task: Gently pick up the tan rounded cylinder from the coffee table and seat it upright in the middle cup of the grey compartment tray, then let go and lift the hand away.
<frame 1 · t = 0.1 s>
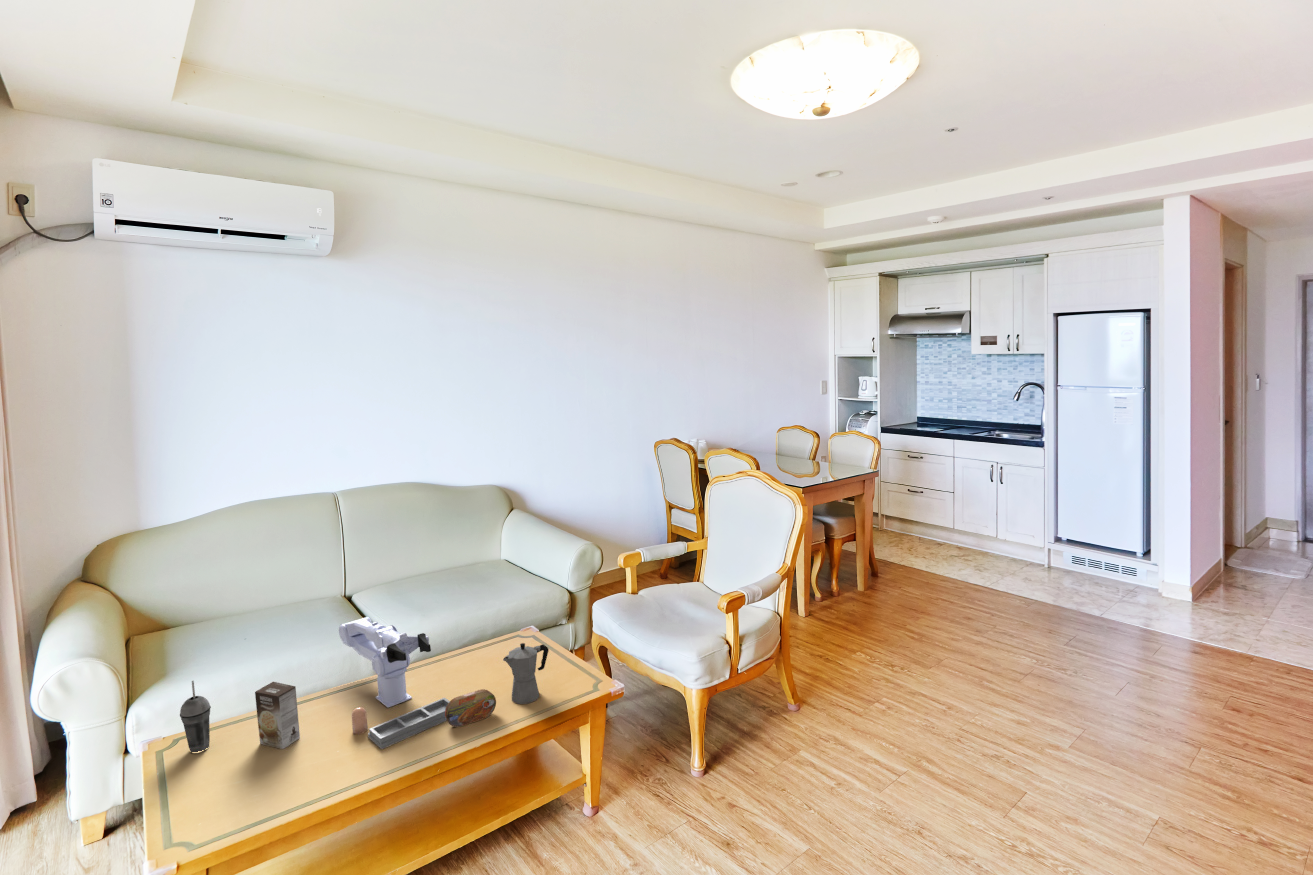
hand: (417, 652, 198), 22 cm above the table, tool horizontal, fingers open, 7 cm apart
tin: (471, 720, 200), on the table
coffeepot: (528, 696, 214), on the table
coffee box: (280, 741, 192), on the table
tan rounded cylinder: (360, 730, 197), on the table
beverage cup: (199, 749, 189), on the table
grey compartment tray: (414, 725, 198), on the table
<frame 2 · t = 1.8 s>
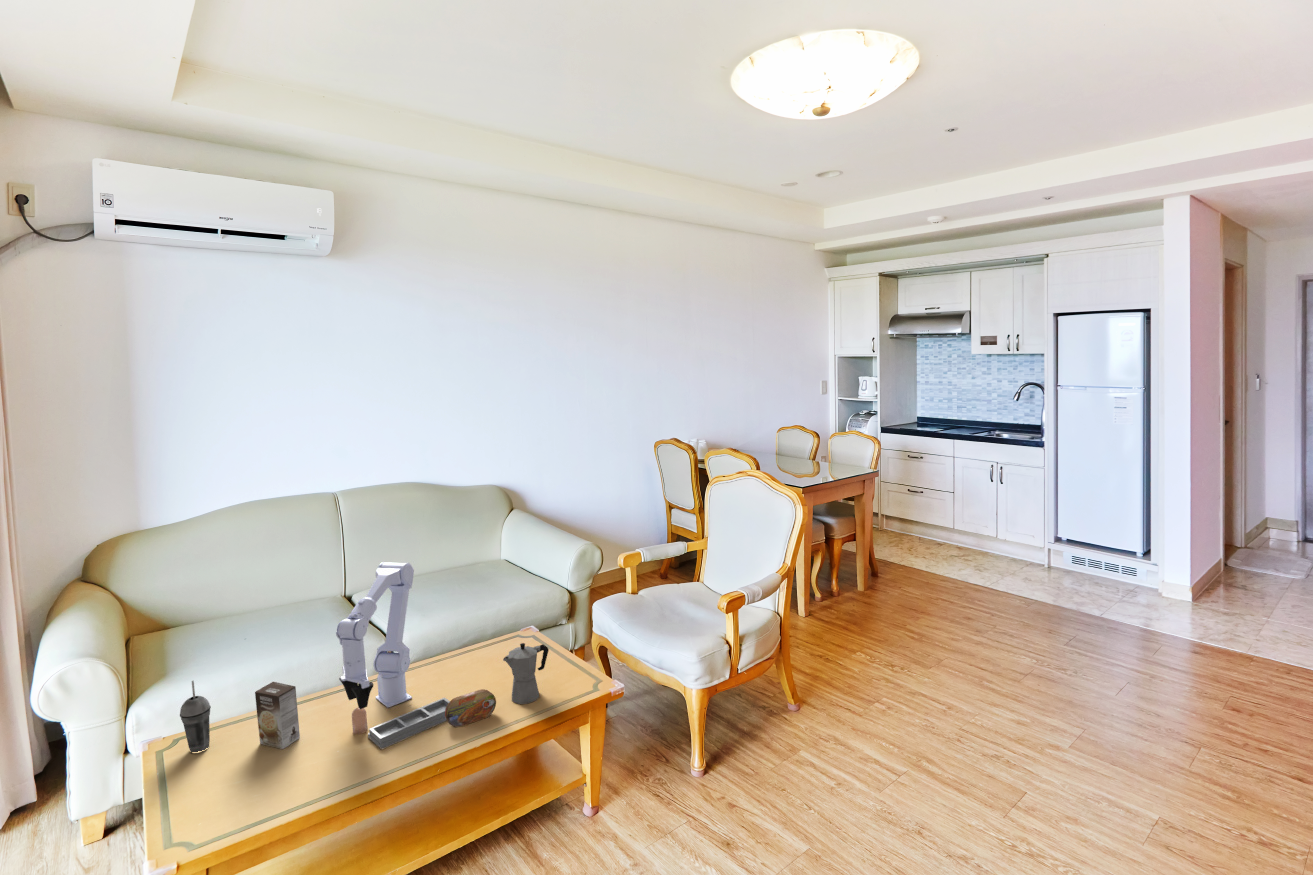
hand: (357, 703, 195), 8 cm above the table, tool pointing down, fingers open, 7 cm apart
nothing on the table moved.
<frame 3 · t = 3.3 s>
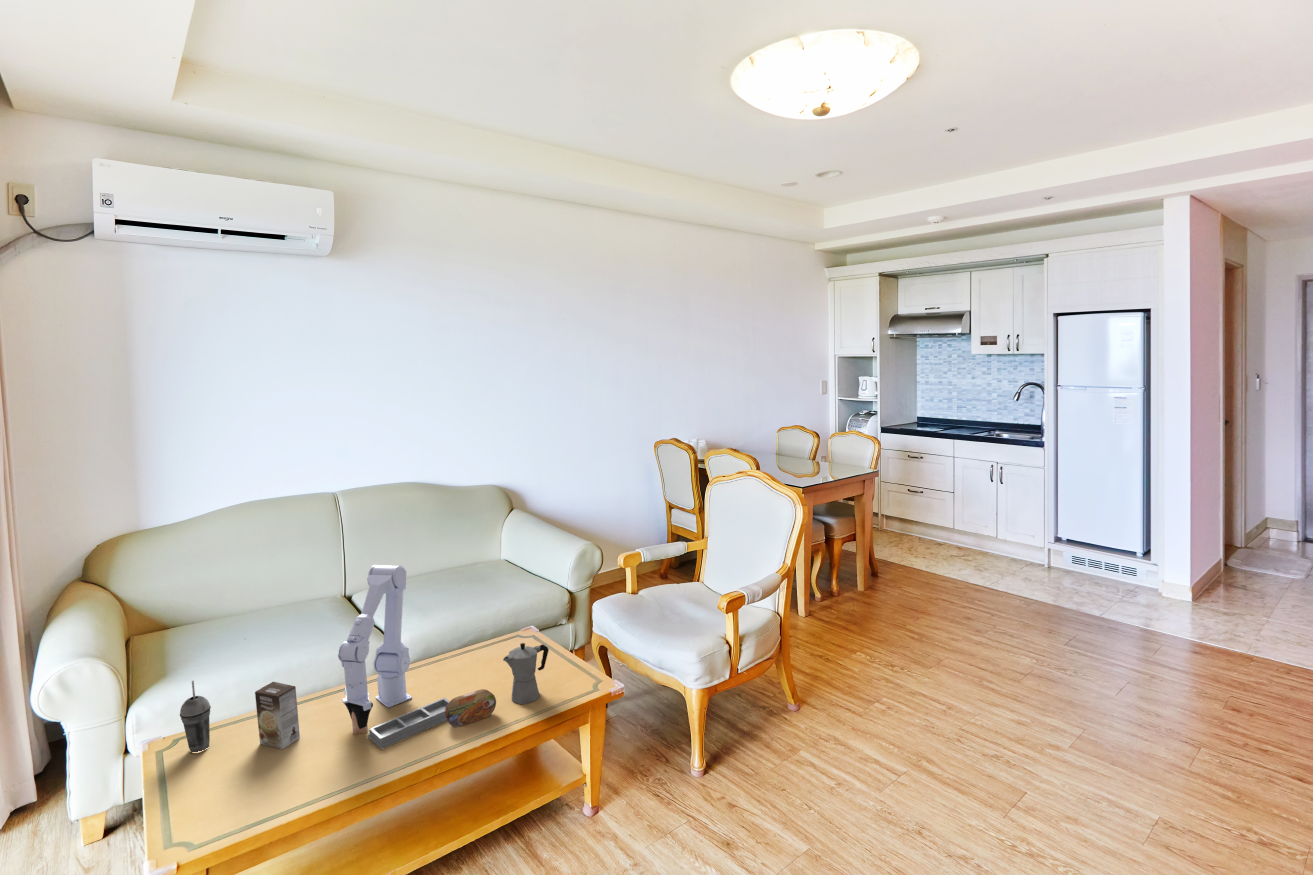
hand: (359, 724, 196), 2 cm above the table, tool pointing down, fingers closed on tan rounded cylinder, 4 cm apart
tan rounded cylinder: (360, 730, 197), on the table, touching gripper
everything else where it was.
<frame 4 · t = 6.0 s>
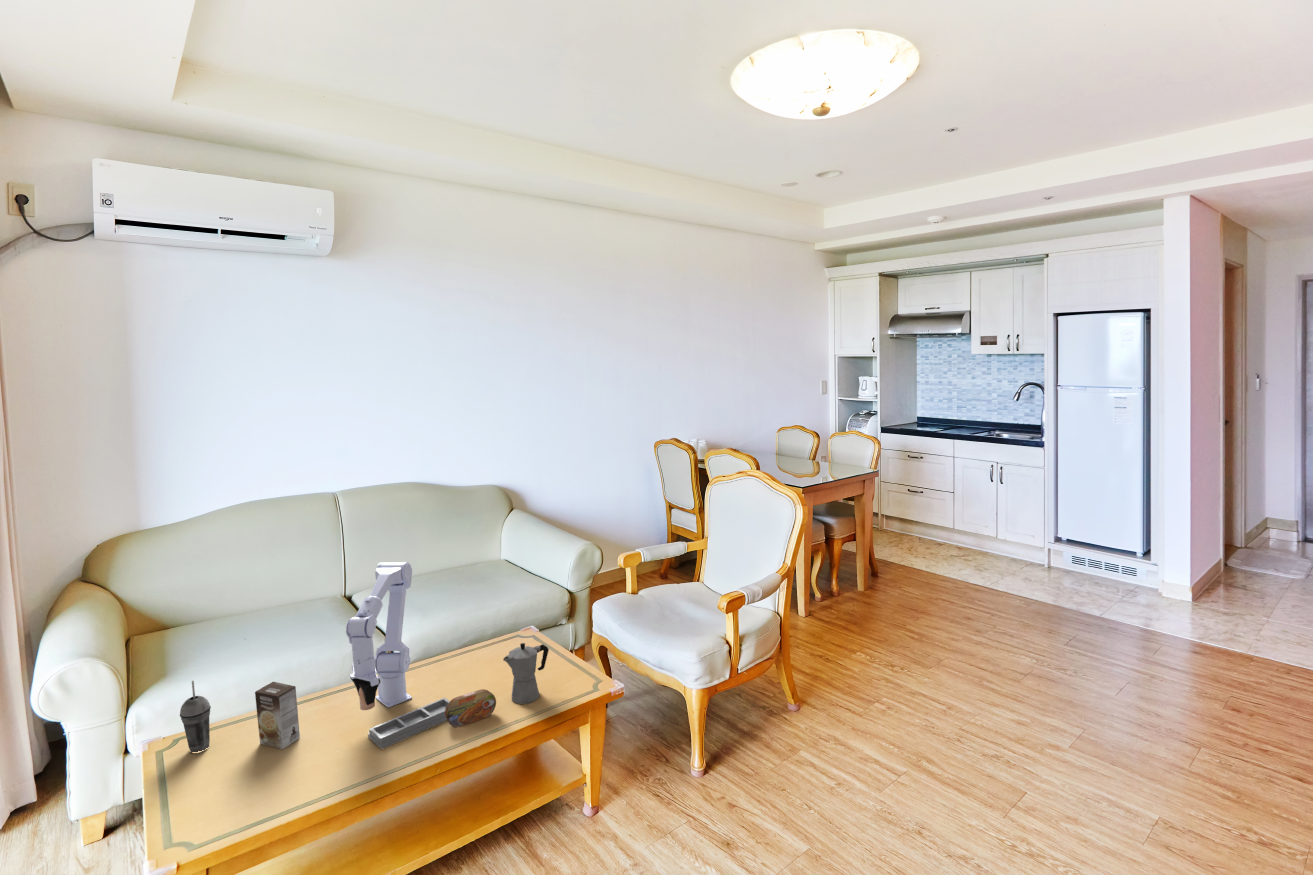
hand: (367, 700, 196), 9 cm above the table, tool pointing down, fingers closed on tan rounded cylinder, 4 cm apart
tan rounded cylinder: (367, 706, 196), point 7 cm above the table, touching gripper
everything else where it was.
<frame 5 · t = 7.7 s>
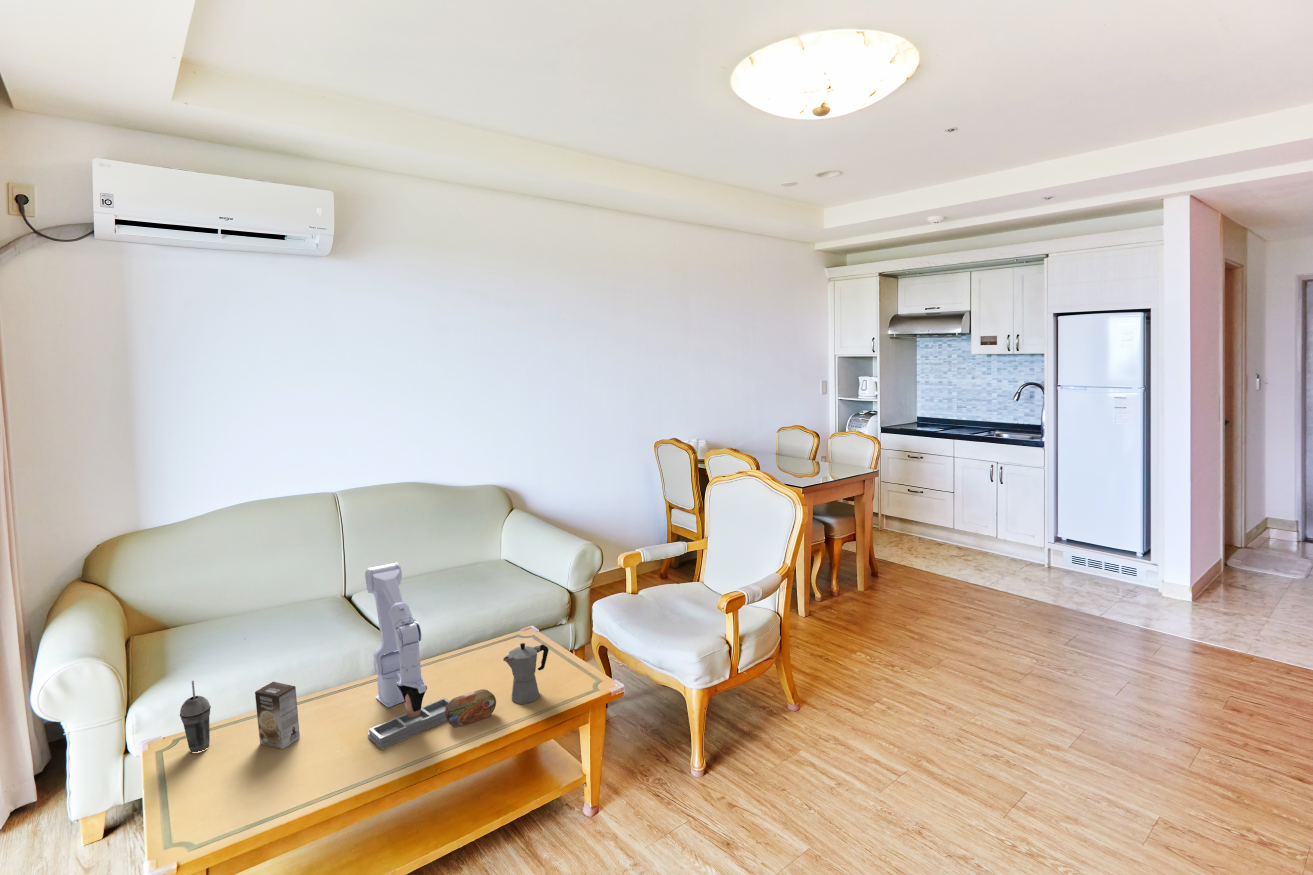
hand: (413, 707, 197), 6 cm above the table, tool pointing down, fingers closed on tan rounded cylinder, 4 cm apart
tan rounded cylinder: (413, 713, 198), point 4 cm above the table, touching gripper
everything else where it was.
when the fingers open (4 cm above the table, at t = 8.9 s): tan rounded cylinder drops 1 cm, resting on grey compartment tray.
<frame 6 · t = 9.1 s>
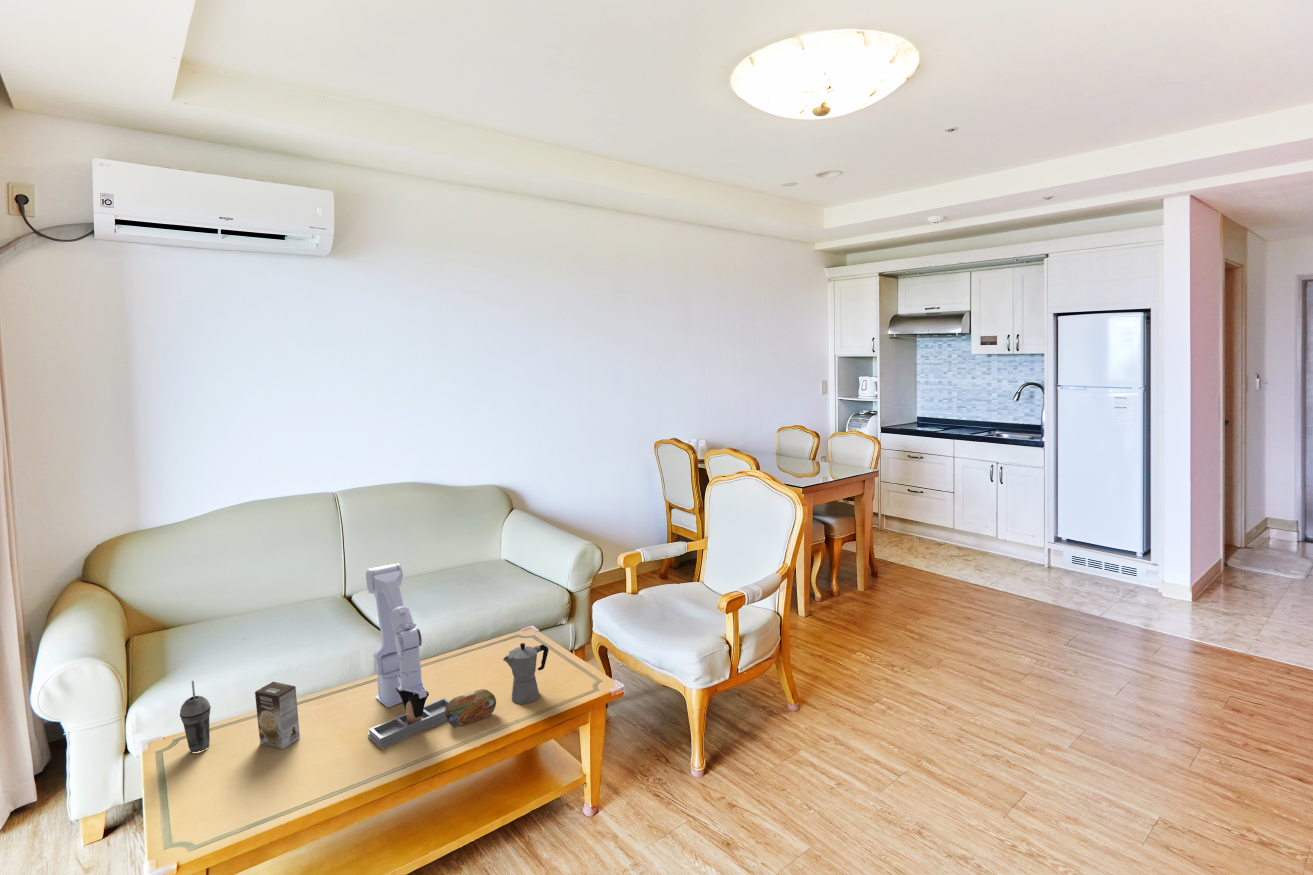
hand: (413, 712, 198), 4 cm above the table, tool pointing down, fingers open, 6 cm apart
tan rounded cylinder: (414, 721, 198), point 1 cm above the table, touching grey compartment tray
everything else where it was.
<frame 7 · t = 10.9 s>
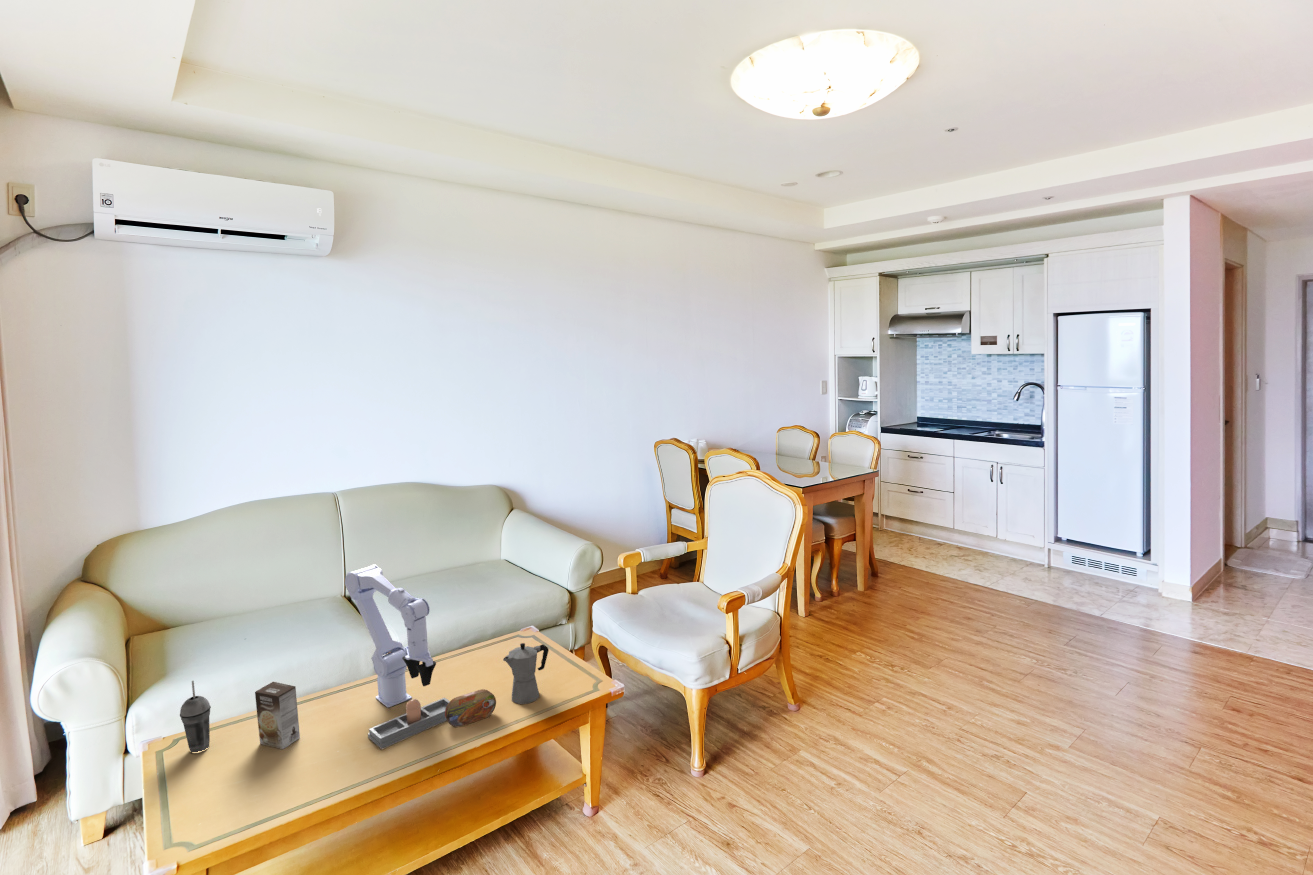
hand: (420, 680, 206), 9 cm above the table, tool pointing down, fingers open, 7 cm apart
nothing on the table moved.
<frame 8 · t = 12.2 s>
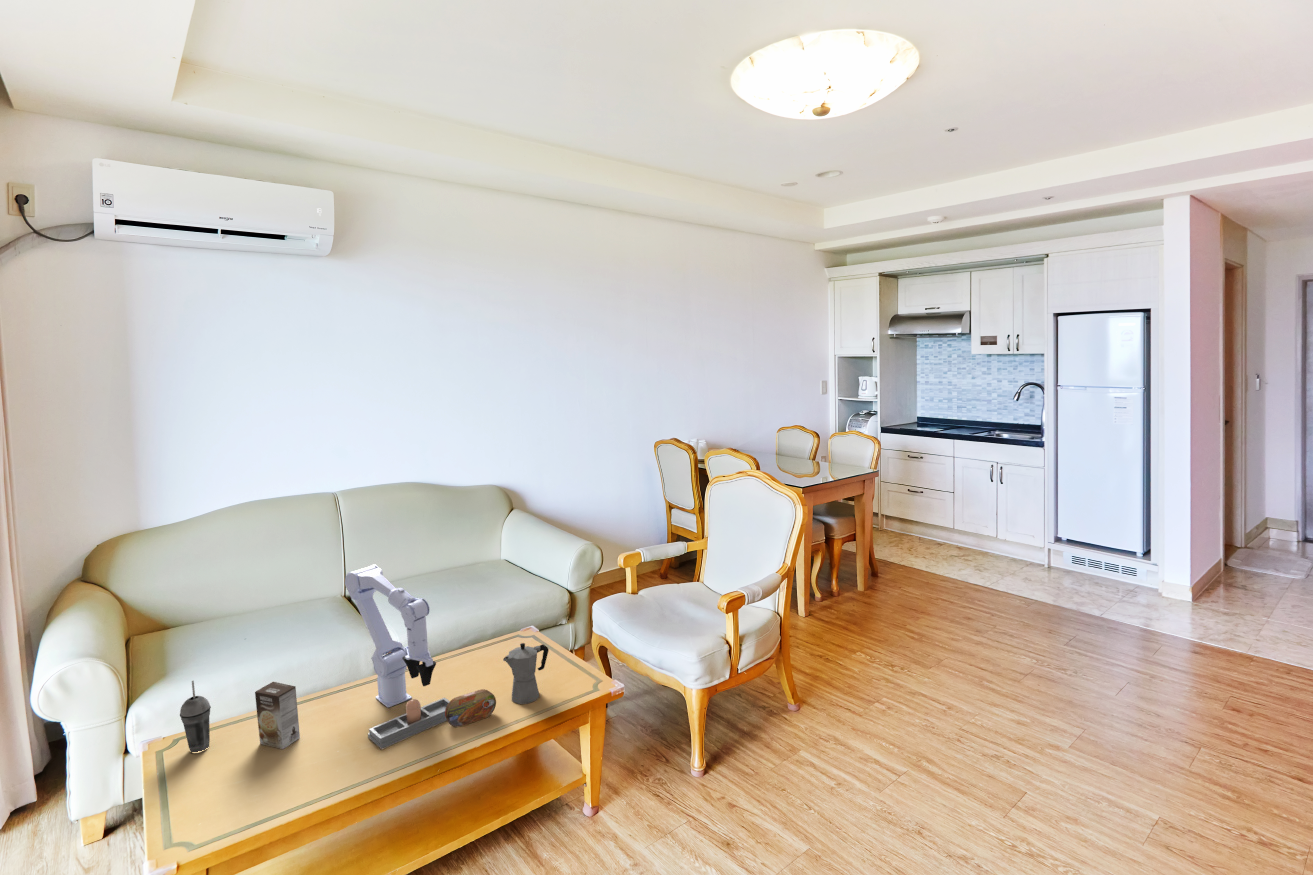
hand: (420, 680, 206), 9 cm above the table, tool pointing down, fingers open, 7 cm apart
nothing on the table moved.
at the end: tan rounded cylinder 0.1 cm off-centre on the grey compartment tray, point 1.2 cm above the grey compartment tray's base; tan rounded cylinder tilted 0°; the gripper is holding nothing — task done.
